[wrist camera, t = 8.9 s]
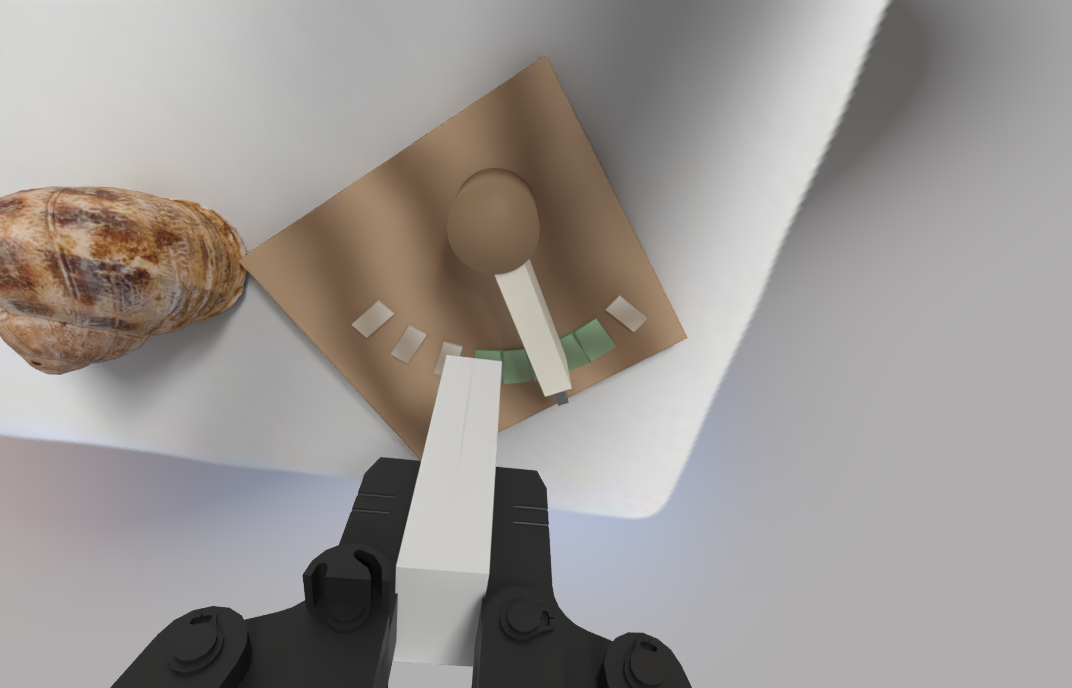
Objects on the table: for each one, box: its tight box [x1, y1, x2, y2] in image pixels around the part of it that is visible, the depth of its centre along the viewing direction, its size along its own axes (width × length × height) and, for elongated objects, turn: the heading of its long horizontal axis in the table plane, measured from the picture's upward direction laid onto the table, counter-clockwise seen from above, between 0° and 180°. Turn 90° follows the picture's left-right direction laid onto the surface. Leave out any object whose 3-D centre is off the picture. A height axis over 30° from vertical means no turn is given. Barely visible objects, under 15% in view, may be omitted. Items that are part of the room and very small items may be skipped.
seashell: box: [0, 187, 247, 375], centre depth 28 cm, size 10×9×10 cm
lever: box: [447, 168, 572, 406], centre depth 28 cm, size 13×4×4 cm, turn 19°
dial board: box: [238, 56, 687, 460], centre depth 31 cm, size 20×18×1 cm
